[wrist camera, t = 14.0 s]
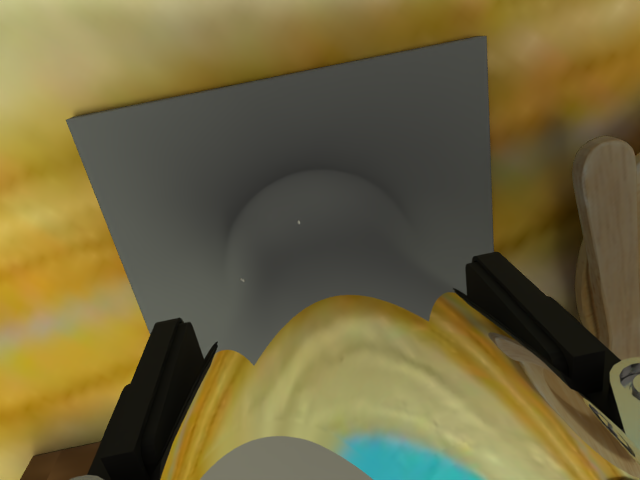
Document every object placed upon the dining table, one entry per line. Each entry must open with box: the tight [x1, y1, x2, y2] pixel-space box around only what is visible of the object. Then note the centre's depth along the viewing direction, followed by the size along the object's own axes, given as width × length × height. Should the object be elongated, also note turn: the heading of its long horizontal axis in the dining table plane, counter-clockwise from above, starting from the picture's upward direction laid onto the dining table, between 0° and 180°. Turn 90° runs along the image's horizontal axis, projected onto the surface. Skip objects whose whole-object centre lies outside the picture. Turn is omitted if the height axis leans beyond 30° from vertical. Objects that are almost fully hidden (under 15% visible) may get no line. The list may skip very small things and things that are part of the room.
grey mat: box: [66, 36, 494, 359], centre depth 17 cm, size 13×11×1 cm
